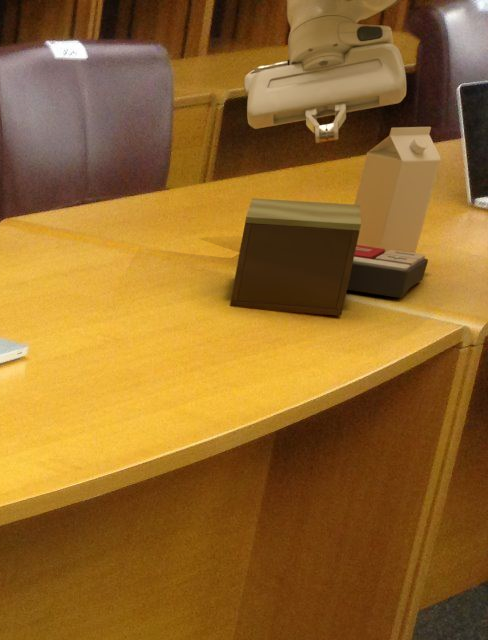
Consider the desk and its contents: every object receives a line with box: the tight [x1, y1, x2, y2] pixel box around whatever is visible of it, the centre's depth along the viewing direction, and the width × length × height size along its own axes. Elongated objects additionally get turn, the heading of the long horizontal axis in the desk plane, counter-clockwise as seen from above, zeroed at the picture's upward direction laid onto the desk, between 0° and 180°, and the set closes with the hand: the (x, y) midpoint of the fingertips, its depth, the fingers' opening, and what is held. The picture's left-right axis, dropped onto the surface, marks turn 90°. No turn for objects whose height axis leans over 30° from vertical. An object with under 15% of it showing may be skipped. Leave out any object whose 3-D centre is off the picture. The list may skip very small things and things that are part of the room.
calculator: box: [347, 245, 429, 299], centre depth 214 cm, size 11×4×15 cm
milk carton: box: [353, 126, 442, 254], centre depth 227 cm, size 7×7×19 cm
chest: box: [229, 222, 360, 317], centre depth 204 cm, size 14×14×11 cm
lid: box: [244, 198, 361, 230], centre depth 202 cm, size 16×14×1 cm
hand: (326, 139), depth 213 cm, fingers closed
